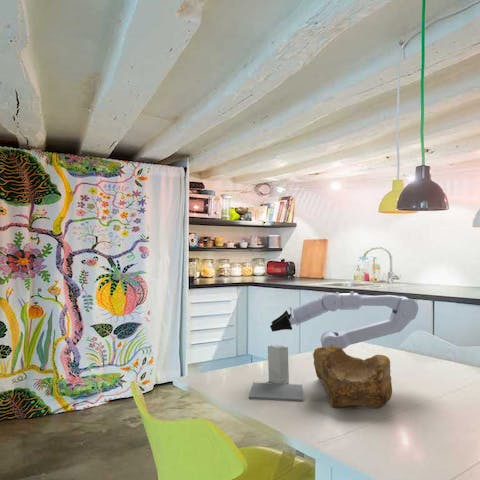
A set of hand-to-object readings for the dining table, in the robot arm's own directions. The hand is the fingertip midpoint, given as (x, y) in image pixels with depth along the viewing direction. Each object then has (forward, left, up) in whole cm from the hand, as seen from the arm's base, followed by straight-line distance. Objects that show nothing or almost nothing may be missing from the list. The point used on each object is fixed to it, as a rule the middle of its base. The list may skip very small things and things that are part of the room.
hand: (271, 326), depth 147 cm
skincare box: (-3, +7, -18) cm, 19 cm away
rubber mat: (-3, +18, -17) cm, 25 cm away
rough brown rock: (-24, +24, -18) cm, 38 cm away
